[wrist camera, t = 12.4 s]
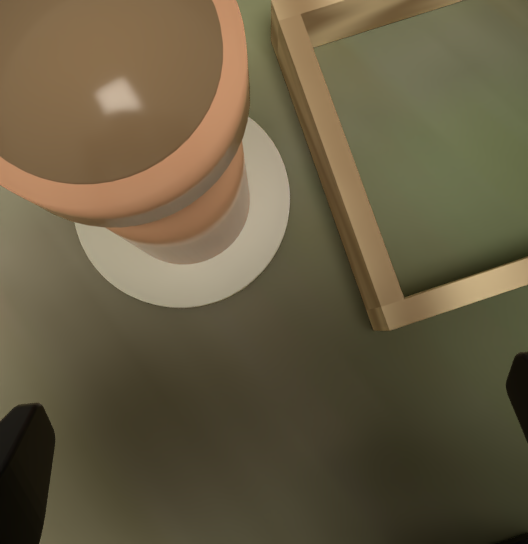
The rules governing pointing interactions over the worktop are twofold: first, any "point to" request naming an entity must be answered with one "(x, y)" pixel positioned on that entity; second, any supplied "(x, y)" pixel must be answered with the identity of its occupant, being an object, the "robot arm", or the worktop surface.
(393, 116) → the worktop surface
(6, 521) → the robot arm
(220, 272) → the ceramic saucer
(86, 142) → the terracotta pot
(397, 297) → the pine frame
